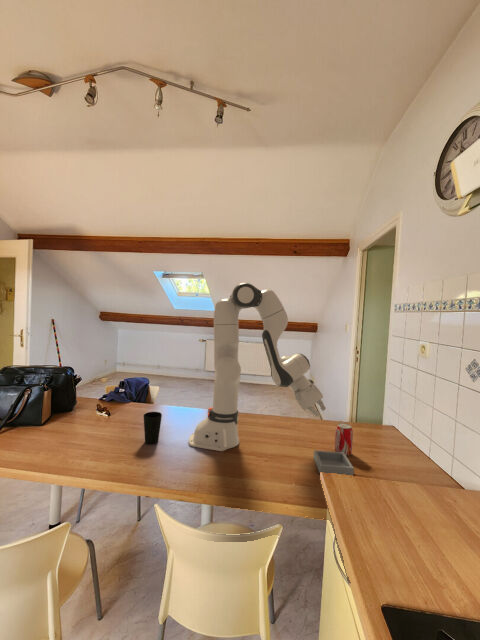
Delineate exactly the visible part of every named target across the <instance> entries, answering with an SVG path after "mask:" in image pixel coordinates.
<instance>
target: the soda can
mask: <svg viewBox="0 0 480 640" xmlns="http://www.w3.org/2000/svg"><path fill="white" fill-rule="evenodd" d="M334 437H335V438H334V452H344V454H345V455H346V457H348V456H350V455H351V454H352V453H353V452H352V451H353V439H354V438H353V437H354V431H353V427H352V425H351V424H348V423H346V422H340V423H337V426H336V427H335V433H334Z"/></svg>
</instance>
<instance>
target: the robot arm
mask: <svg viewBox="0 0 480 640" xmlns="http://www.w3.org/2000/svg"><path fill="white" fill-rule="evenodd" d="M249 308H254V309H256V311H257V313H259V316H260V319H261V321H262V325H263V331H262V333H261V338H262V343H263V346H264V350H265V354H266V357H267V360H268V363H269V366H270V373H271V377H272V381H273V382H274V383H275V385H277V386H279V387H282V388H288V387H289V388H290V390H291V391H292V392H293V394H294V397H295V400H296V402H297V404H298V406H300V408H301V410H303V411H304V412H305V411H307V410H308V411H309V412H311V413H312V415H314V416H315V417H316V418H317V417H318V416H320V415H321V414H320V412H319V411H318V410H316V408H315V407H314V405H316V404H317V405H319V407H320V410H321V411H323V412H324V411H325V410H327V407H326V406H325V404H324V402H323V400H322V399H324V395H323V394H322V392H321V390H320V389H319V387H318V386H317V385H316V384H315V381H314V380H313V379H309V378H307V377H306V376H305V374H306V373H308V371H309V370H310V368H311V365H310V360H309V359H308V357H307V356H306V355H304V354H303V353H299V352H298V353H295V354H292V355H289V356H288V355H283V356H281V357H280V353H279V349H278V340H279V339H280V337H281V335H282V334H283V332H284V331H285V330H286V329H287V327H288V325H289V324H288V322H289V317H288V314H287V311H286V309H285V307H284V305H283V303H282V302H281V300H280V298H279V297H278V295H277V294H276V293H275V291H274V290H272V289H263V290H260V289H258V287H256V286H254V284H251V283H250V282H241V283H238V284H237V285H235V286H234V288H233V290H232V292H231V295H230V296H229V298H222V299H220V300H218V301H216V303H215V306H214V312H213V340H214V341H213V353H214V354H213V360H214V361H213V365H214V366H213V367H214V382H213V394H212V396H213V397H212V406H211V407H209V408H208V410H207V417H206V418H205V419H204V420H201V422H199V423H198V424H197V425H196V427H195V430H194V432H193V433H191V434H190V436H189V438H188V445H189V446H190V447H194V448H198V449H199V448H200V449H206V450H212V451H217V452H218V451H219V452H224V451H226V450H228V449H232V448H235V447H237V446H238V445H239V444H240V438H239V432H238V423H239V410H238V407H239V405H238V402H239V401H238V400H239V390H240V382H241V374H242V373H241V372H242V367H241V364H240V362H239V343H240V337H239V335H240V333H239V332H240V329H239V327H240V326H239V314H240V312H241V310H242V309H249Z"/></svg>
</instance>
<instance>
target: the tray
mask: <svg viewBox="0 0 480 640" xmlns="http://www.w3.org/2000/svg"><path fill="white" fill-rule="evenodd" d="M313 461H314V463H315V466H316V468H317V471H318V474H319V473H320V472H324V473H337V474H346V475H353V476H354V471H355V470H354V469H355V468H354V466H353V464H352V463H351V461H350V460H349V458H348V456H346V455H345V454H344V452H336V451H330V450H329V451H328V450H317V449H316V450H313Z"/></svg>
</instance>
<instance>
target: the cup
mask: <svg viewBox="0 0 480 640" xmlns="http://www.w3.org/2000/svg"><path fill="white" fill-rule="evenodd" d="M162 416H163V414H162V413H161V412H159V411H150V412H146V413H144V414H143V424H144V425H143V431H144V444H146V445H147V446H148V445H149V446H150V445H151V446H152V445H153V446H154V445H157V444H158V443H159V440H160V439H159V438H160V432H161V431H160V430H161V423H162V418H163V417H162Z"/></svg>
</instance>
